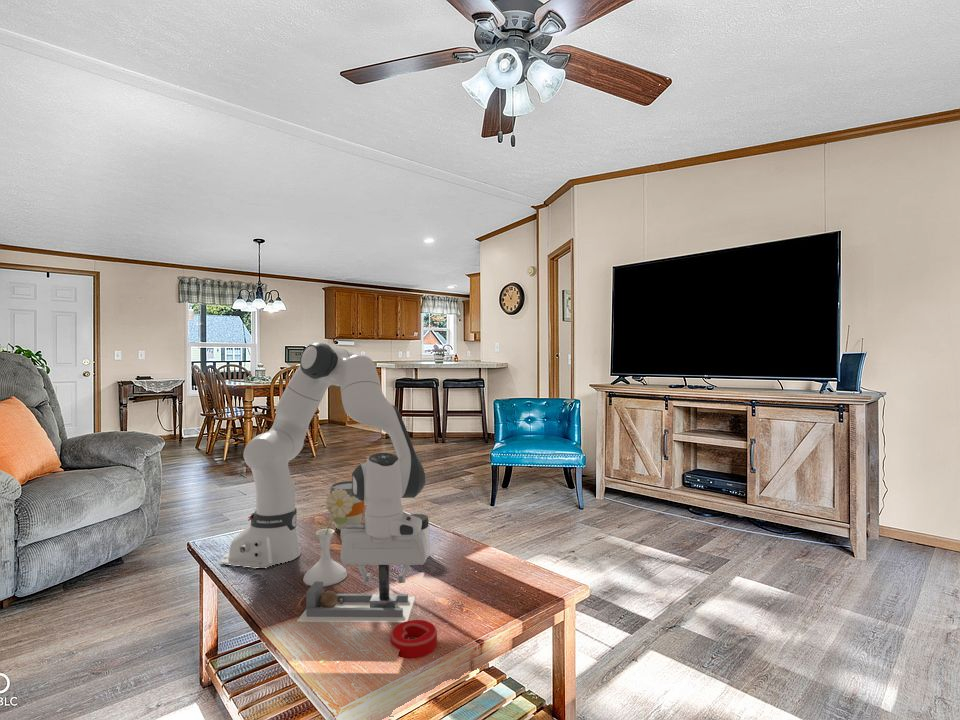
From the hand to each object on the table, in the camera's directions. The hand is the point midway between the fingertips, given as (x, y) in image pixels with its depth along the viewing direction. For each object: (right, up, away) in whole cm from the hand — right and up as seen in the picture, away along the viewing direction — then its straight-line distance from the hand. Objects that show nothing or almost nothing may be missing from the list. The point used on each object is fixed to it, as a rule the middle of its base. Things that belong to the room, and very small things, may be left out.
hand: (384, 581), depth 115 cm
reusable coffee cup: (-26, -8, +63) cm, 68 cm away
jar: (+3, -8, +34) cm, 35 cm away
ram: (0, -6, 0) cm, 6 cm away
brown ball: (-13, -6, 0) cm, 15 cm away
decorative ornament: (+9, -8, -12) cm, 17 cm away
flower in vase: (-19, -8, +17) cm, 27 cm away
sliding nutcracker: (-6, -8, 0) cm, 10 cm away
